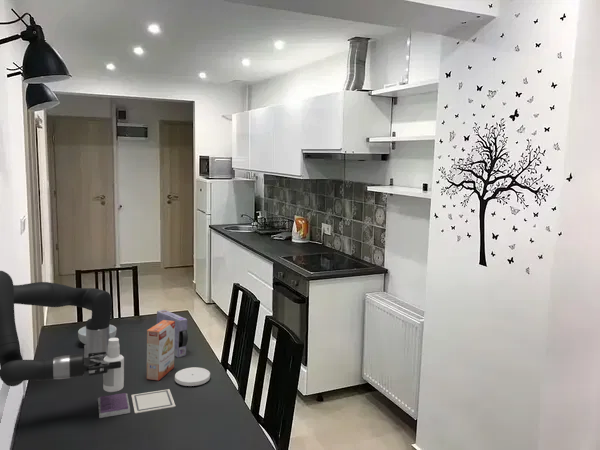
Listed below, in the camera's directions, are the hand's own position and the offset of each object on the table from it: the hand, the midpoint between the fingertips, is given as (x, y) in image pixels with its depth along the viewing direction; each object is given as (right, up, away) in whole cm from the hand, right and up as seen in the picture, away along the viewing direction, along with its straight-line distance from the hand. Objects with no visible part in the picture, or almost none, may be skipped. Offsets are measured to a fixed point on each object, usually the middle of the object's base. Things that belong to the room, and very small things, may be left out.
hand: (120, 360), depth 172 cm
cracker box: (+6, -14, +30) cm, 34 cm away
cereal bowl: (-33, -9, +60) cm, 69 cm away
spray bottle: (-3, -10, 0) cm, 10 cm away
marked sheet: (+10, -17, +7) cm, 21 cm away
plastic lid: (+20, -16, +25) cm, 36 cm away
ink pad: (-3, -17, +1) cm, 17 cm away
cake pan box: (+4, -11, +53) cm, 55 cm away
